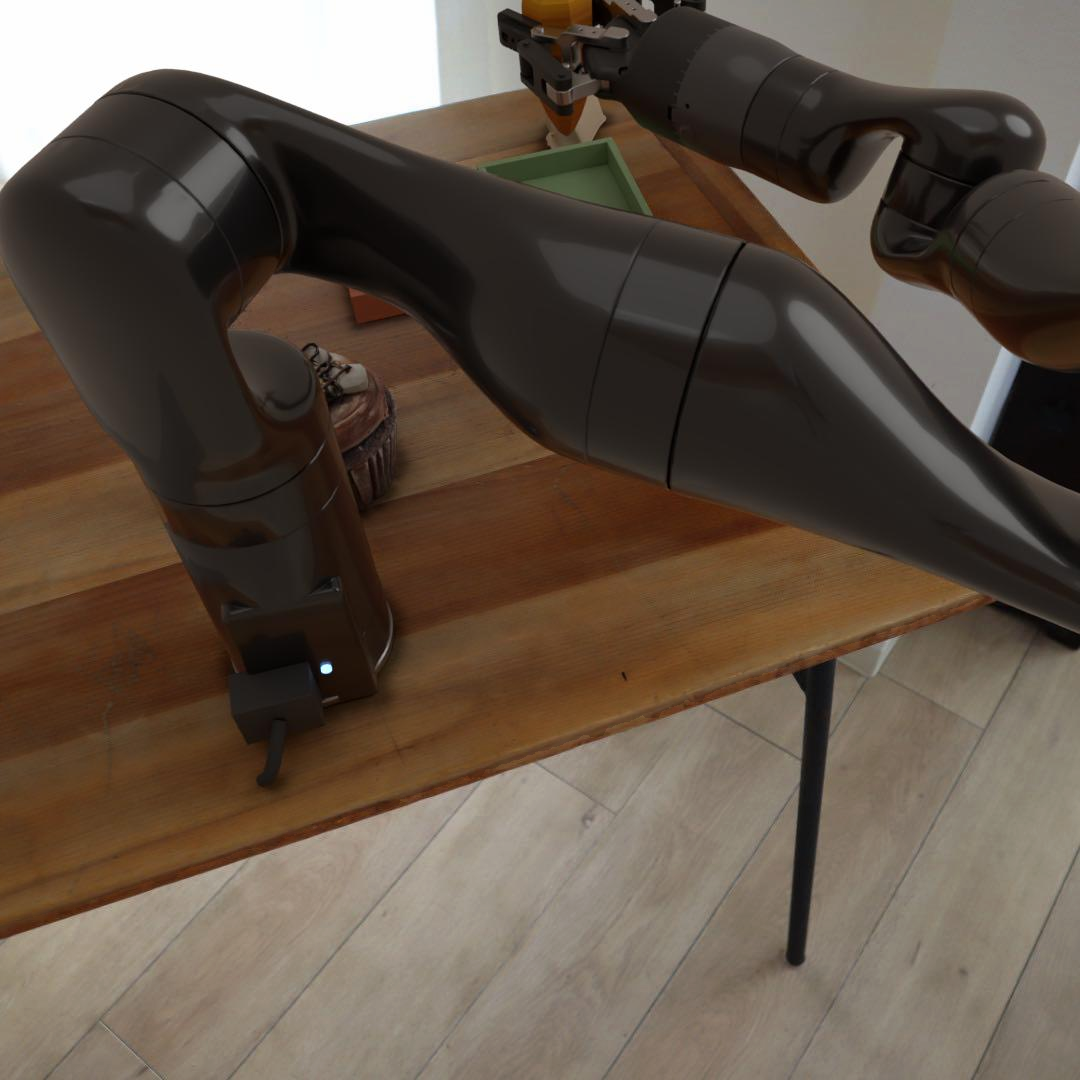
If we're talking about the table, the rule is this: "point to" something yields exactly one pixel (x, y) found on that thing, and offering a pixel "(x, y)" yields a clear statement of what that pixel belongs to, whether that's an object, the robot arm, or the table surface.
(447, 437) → the table surface
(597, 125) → the decorative ornament
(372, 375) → the cupcake
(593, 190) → the green tray
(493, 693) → the table surface
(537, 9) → the carrot
